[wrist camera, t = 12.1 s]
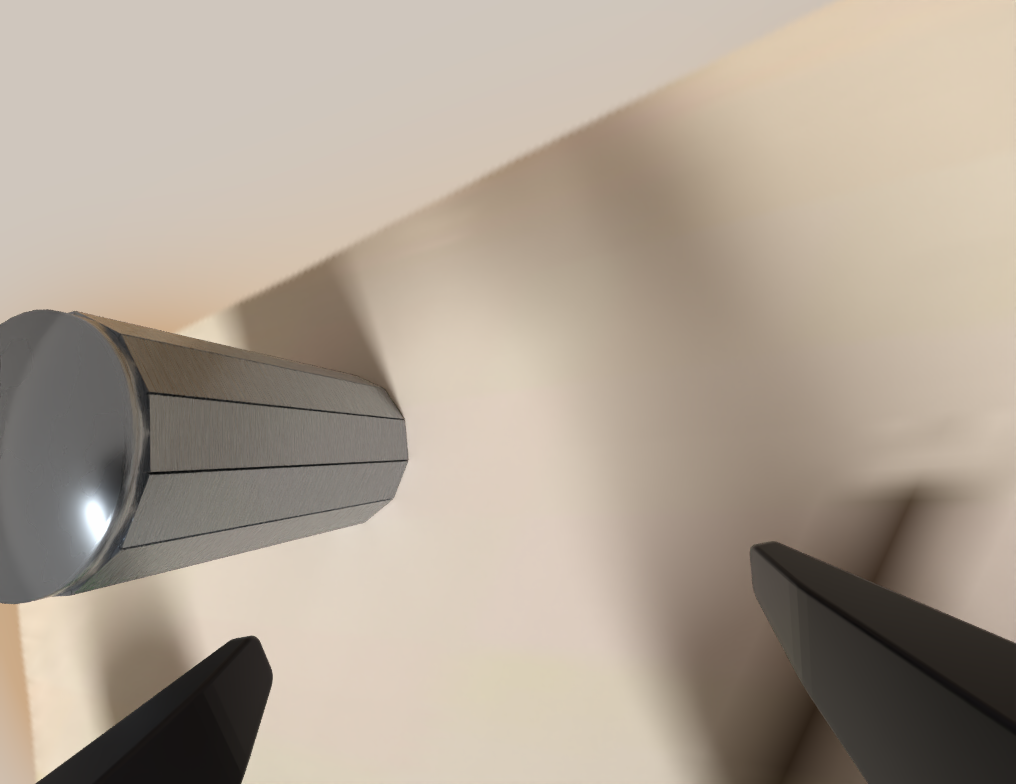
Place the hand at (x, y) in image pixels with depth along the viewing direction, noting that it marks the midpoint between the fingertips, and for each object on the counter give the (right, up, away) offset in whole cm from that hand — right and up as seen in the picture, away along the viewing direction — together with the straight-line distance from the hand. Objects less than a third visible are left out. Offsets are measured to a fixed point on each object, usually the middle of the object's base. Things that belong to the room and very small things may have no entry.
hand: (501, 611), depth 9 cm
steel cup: (-8, +1, +16) cm, 18 cm away
